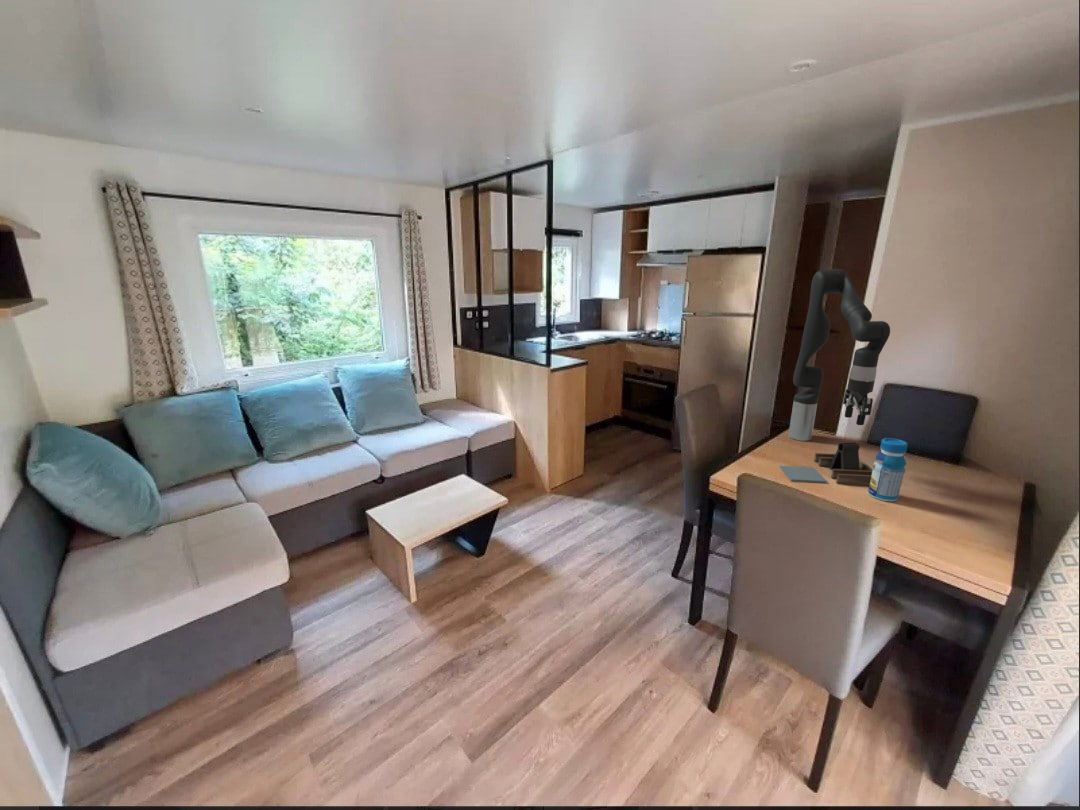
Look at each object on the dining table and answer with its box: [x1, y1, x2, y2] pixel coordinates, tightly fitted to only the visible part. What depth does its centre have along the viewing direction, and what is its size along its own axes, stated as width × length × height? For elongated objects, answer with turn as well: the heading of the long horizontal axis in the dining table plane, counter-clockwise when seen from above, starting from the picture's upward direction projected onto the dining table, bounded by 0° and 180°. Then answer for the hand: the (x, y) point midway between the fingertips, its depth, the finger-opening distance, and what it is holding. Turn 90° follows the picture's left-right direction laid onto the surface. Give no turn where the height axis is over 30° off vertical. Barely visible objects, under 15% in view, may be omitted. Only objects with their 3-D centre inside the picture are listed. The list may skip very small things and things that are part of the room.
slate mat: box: [779, 465, 828, 484], centre depth 165 cm, size 12×12×1 cm
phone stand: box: [827, 442, 860, 471], centre depth 165 cm, size 9×6×12 cm, turn 1°
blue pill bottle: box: [867, 437, 909, 502], centre depth 146 cm, size 8×8×20 cm
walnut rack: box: [813, 452, 873, 486], centre depth 166 cm, size 20×14×4 cm
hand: (853, 421), depth 160 cm, fingers open, 8 cm apart
